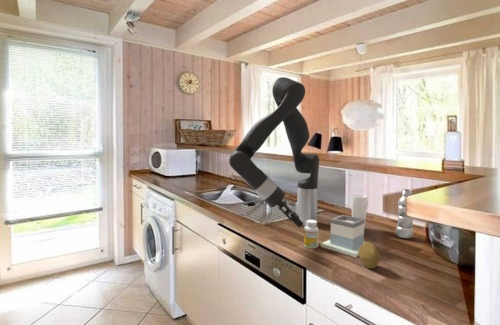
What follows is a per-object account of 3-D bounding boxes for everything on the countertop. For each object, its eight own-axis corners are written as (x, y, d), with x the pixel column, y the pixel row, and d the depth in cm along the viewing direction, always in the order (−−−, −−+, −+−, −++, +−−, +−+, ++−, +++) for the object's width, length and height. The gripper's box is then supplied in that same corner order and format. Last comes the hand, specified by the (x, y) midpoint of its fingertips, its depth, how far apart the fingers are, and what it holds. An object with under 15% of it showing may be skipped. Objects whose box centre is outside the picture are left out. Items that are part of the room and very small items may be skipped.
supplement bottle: (308, 242, 121) (308, 218, 120) (320, 245, 117) (321, 220, 116) (301, 246, 117) (301, 221, 116) (314, 249, 113) (314, 224, 112)
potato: (360, 260, 104) (361, 237, 104) (384, 266, 99) (385, 242, 99) (352, 267, 99) (353, 242, 98) (377, 274, 94) (378, 248, 93)
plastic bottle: (391, 236, 129) (394, 189, 127) (403, 234, 132) (406, 188, 130) (405, 241, 123) (407, 192, 121) (416, 239, 126) (419, 191, 124)
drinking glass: (361, 232, 134) (362, 198, 133) (347, 228, 140) (348, 195, 138) (368, 228, 139) (370, 196, 138) (355, 225, 144) (356, 193, 143)
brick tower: (320, 246, 116) (321, 219, 115) (338, 237, 126) (339, 212, 125) (356, 257, 107) (357, 227, 106) (372, 246, 117) (373, 219, 116)
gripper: (278, 188, 108) (310, 220, 109) (275, 182, 122) (303, 210, 123) (263, 203, 108) (295, 235, 109) (261, 195, 122) (289, 223, 123)
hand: (299, 222), depth 116 cm, fingers open, 8 cm apart
